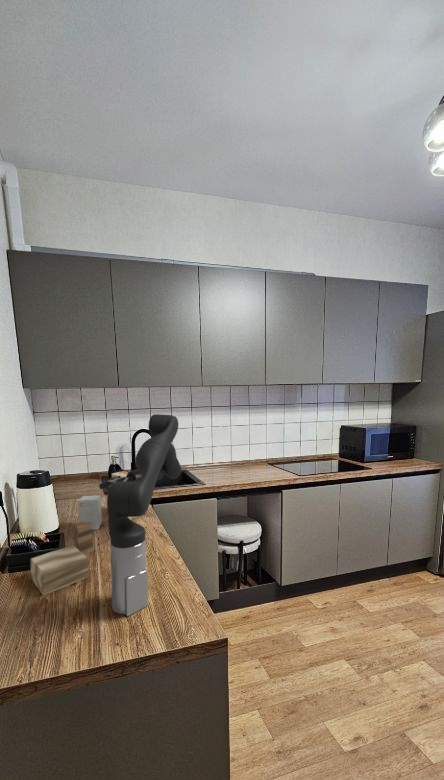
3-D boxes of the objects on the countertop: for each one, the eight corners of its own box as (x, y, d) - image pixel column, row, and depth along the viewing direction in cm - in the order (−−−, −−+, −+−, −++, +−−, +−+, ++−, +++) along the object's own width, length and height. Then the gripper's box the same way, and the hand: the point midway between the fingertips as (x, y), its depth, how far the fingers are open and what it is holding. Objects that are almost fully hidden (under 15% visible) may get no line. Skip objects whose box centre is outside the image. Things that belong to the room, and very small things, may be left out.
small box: (101, 524, 146) (101, 494, 146) (98, 530, 139) (97, 499, 140) (83, 525, 145) (82, 495, 145) (78, 531, 139) (77, 500, 139)
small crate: (93, 551, 120) (92, 523, 120) (78, 556, 117) (78, 528, 117) (87, 547, 124) (86, 520, 124) (73, 551, 120) (72, 524, 120)
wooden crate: (90, 577, 103) (89, 557, 103) (43, 596, 94) (43, 574, 94) (74, 562, 113) (73, 544, 113) (30, 578, 103) (30, 558, 103)
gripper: (130, 466, 144) (95, 476, 132) (149, 471, 134) (113, 483, 122) (131, 482, 144) (96, 494, 132) (151, 489, 135) (115, 502, 123)
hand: (105, 489), depth 127 cm, fingers open, 8 cm apart
